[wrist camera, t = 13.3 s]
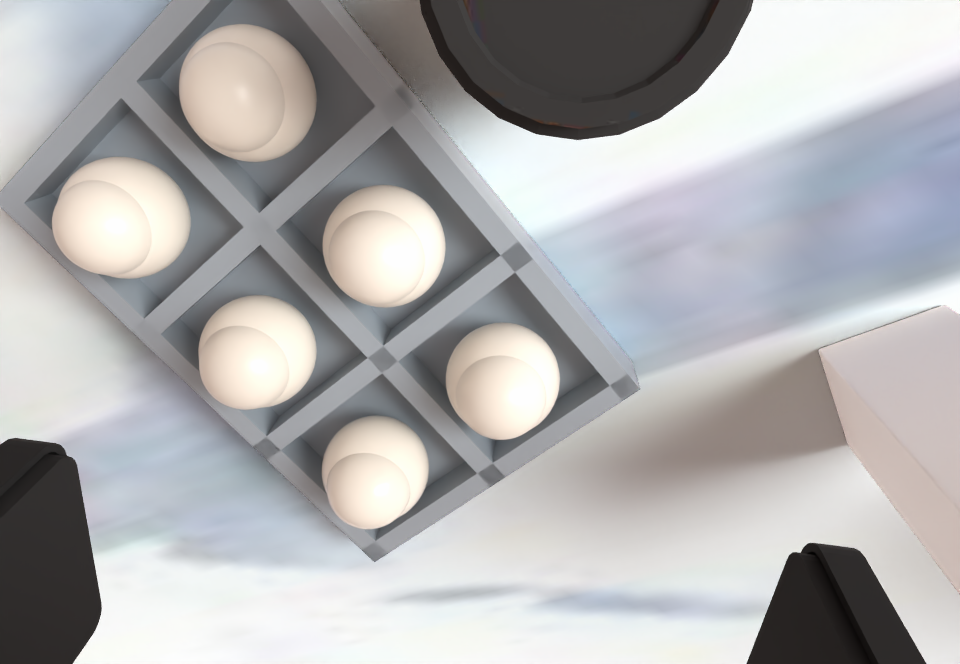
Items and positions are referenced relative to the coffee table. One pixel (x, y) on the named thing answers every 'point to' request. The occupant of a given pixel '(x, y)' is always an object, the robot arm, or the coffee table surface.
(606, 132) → the coffee cup
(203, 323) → the carton
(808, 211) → the coffee table surface
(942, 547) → the milk
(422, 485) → the egg
